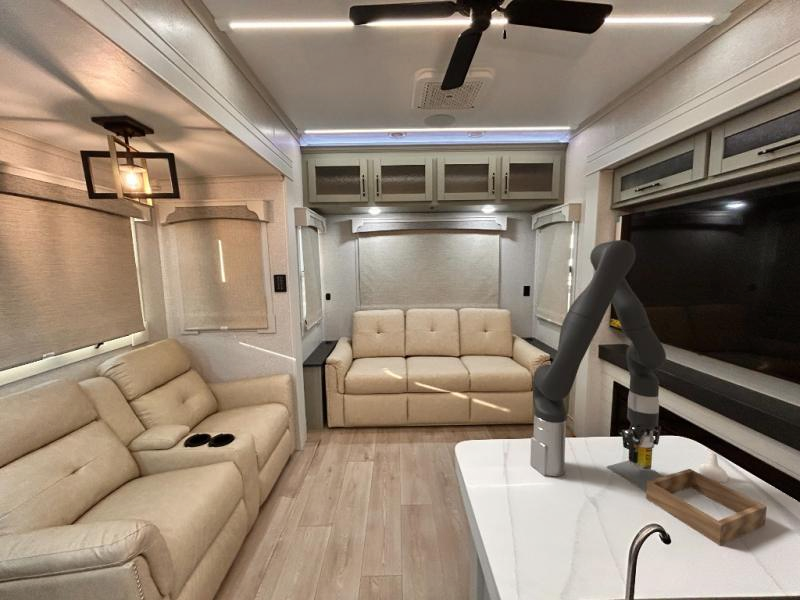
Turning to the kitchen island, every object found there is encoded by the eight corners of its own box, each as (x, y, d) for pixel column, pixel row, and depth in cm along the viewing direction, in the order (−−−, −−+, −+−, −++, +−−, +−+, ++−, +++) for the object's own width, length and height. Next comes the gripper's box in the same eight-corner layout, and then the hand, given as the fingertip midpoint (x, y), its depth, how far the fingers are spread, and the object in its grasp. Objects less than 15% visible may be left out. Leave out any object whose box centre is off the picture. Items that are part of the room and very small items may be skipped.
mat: (645, 491, 90) (645, 490, 90) (606, 467, 101) (606, 466, 101) (673, 482, 94) (674, 481, 94) (633, 460, 105) (633, 459, 105)
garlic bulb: (731, 487, 92) (736, 462, 91) (704, 480, 95) (709, 456, 94) (719, 475, 98) (724, 451, 97) (693, 468, 100) (698, 445, 100)
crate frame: (719, 545, 72) (721, 525, 72) (645, 498, 87) (646, 481, 87) (764, 525, 78) (766, 506, 77) (688, 484, 93) (689, 468, 92)
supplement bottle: (647, 473, 94) (648, 440, 93) (625, 464, 98) (627, 433, 97) (654, 467, 97) (656, 435, 96) (633, 458, 101) (634, 428, 100)
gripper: (646, 399, 102) (643, 449, 103) (613, 405, 97) (611, 457, 99) (672, 408, 95) (669, 462, 96) (639, 415, 90) (636, 471, 91)
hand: (640, 459), depth 97 cm, fingers closed on supplement bottle, 5 cm apart
